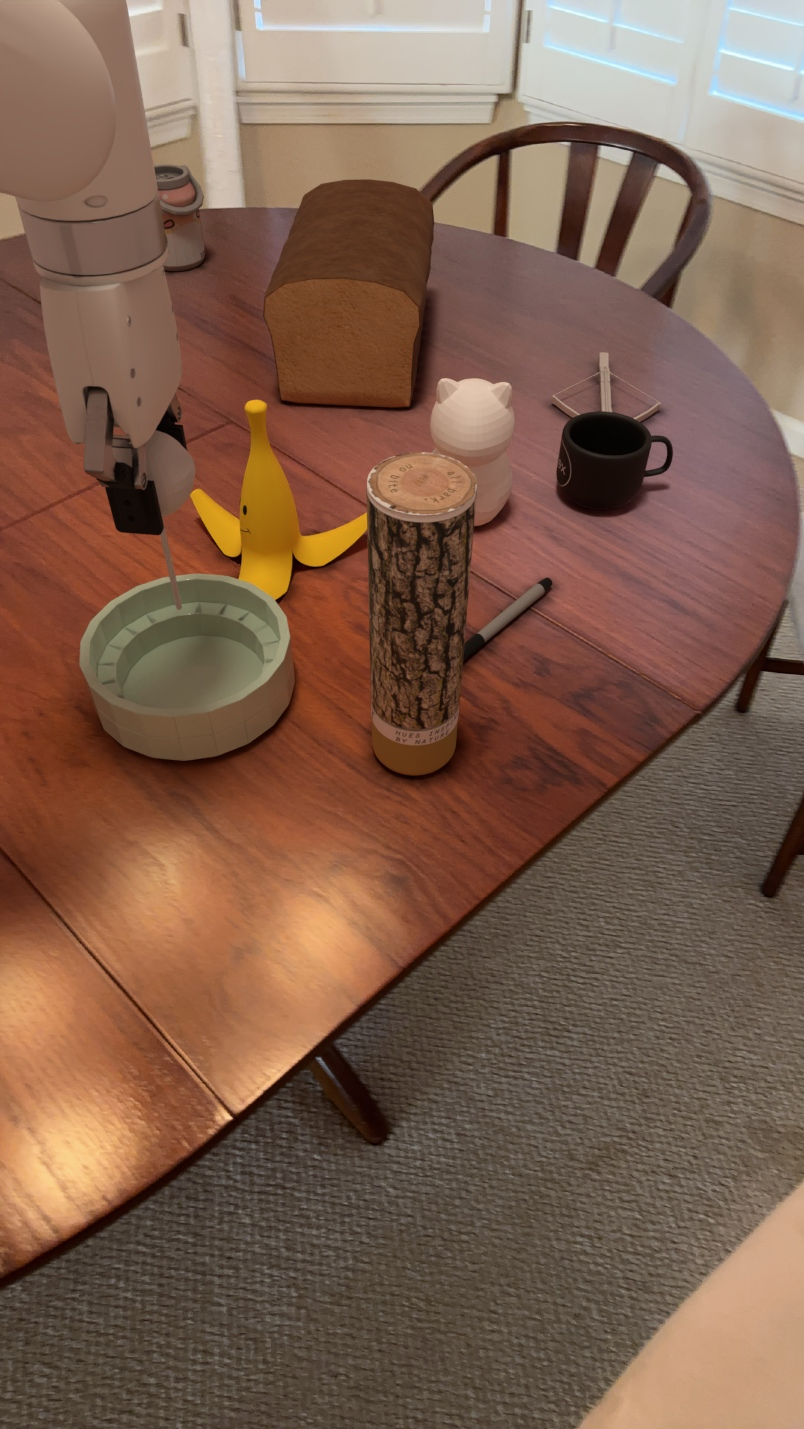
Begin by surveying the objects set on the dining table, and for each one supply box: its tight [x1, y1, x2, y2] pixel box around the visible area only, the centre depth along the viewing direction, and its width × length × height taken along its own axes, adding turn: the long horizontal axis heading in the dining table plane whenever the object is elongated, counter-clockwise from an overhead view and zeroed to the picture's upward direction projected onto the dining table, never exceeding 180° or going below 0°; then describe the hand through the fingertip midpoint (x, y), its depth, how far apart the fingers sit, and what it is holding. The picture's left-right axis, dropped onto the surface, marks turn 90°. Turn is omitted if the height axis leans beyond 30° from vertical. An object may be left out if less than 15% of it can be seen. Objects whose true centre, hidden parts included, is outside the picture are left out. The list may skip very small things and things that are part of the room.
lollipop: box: [112, 430, 196, 610], centre depth 68 cm, size 6×6×15 cm
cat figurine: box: [429, 377, 516, 527], centre depth 93 cm, size 9×12×15 cm
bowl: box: [78, 572, 296, 762], centre depth 78 cm, size 17×17×6 cm
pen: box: [463, 577, 553, 662], centre depth 85 cm, size 1×16×1 cm, turn 139°
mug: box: [555, 410, 674, 510], centre depth 98 cm, size 12×9×7 cm
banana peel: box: [189, 399, 367, 601], centre depth 86 cm, size 17×19×17 cm
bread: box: [262, 178, 435, 409], centre depth 115 cm, size 18×30×16 cm, turn 176°
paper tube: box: [366, 451, 477, 776], centre depth 67 cm, size 7×7×25 cm
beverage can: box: [154, 163, 206, 272], centre depth 134 cm, size 9×8×12 cm
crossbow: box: [551, 351, 661, 423], centre depth 113 cm, size 16×13×2 cm
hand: (155, 500), depth 66 cm, fingers closed on lollipop, 6 cm apart
